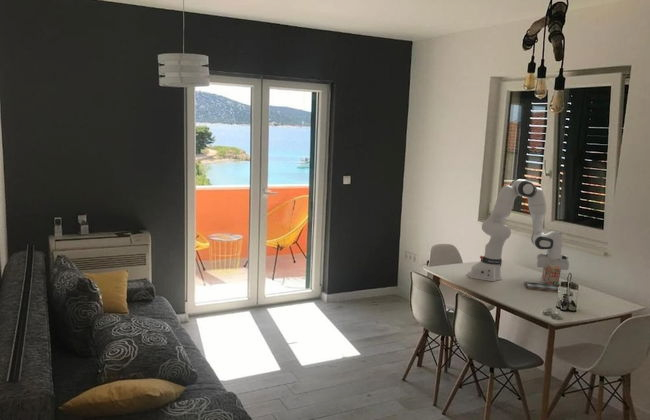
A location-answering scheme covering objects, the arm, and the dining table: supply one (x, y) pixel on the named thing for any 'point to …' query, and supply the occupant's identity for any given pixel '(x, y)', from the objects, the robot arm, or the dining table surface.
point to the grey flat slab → (541, 286)
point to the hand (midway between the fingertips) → (551, 274)
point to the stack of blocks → (552, 274)
